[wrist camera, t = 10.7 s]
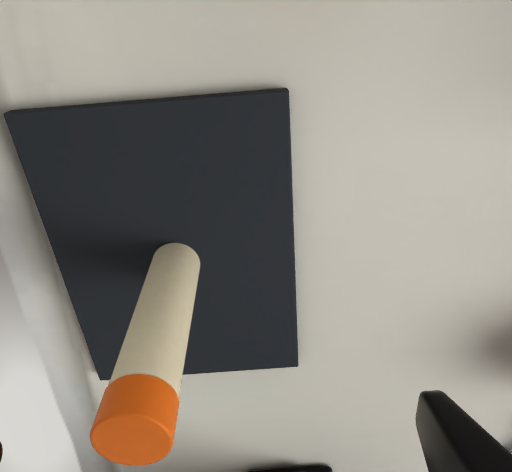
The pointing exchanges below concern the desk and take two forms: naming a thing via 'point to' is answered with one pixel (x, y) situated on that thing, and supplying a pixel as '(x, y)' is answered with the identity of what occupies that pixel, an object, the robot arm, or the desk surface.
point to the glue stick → (150, 364)
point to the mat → (172, 216)
